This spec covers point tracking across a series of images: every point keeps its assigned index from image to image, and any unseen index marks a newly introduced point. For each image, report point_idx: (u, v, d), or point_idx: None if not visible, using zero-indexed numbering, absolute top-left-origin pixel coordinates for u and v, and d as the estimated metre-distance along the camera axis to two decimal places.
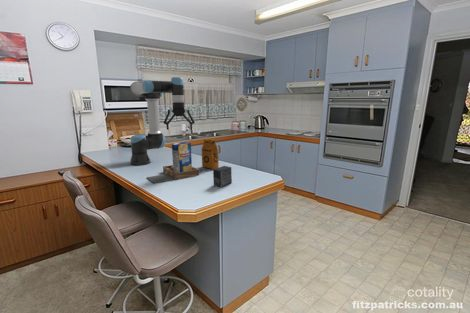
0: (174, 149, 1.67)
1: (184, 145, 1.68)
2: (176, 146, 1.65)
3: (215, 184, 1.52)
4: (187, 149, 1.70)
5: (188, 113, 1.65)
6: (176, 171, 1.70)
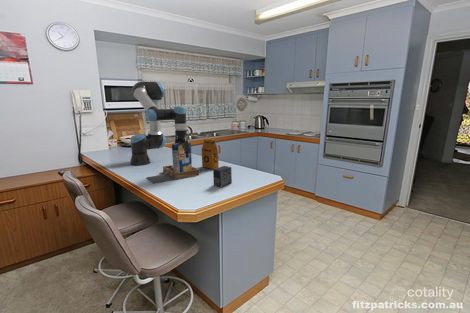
0: (174, 149, 1.67)
1: None
2: (176, 146, 1.65)
3: (215, 184, 1.52)
4: None
5: (184, 141, 1.64)
6: (176, 171, 1.70)
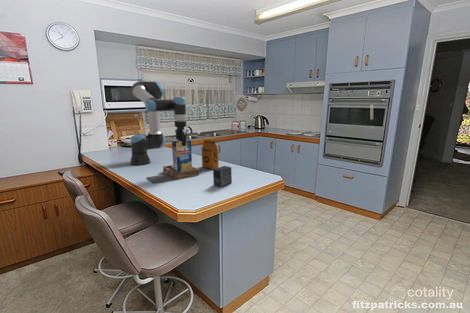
0: (173, 146, 1.68)
1: None
2: (174, 143, 1.66)
3: (215, 184, 1.52)
4: (186, 146, 1.69)
5: (182, 135, 1.64)
6: (175, 167, 1.71)
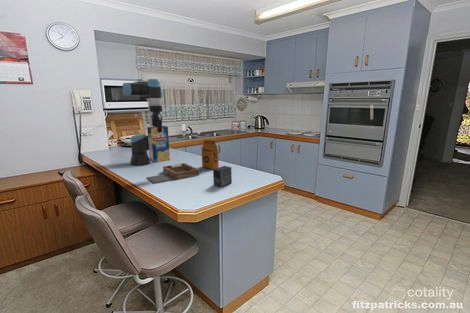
0: (148, 132, 1.56)
1: None
2: (149, 129, 1.54)
3: (215, 184, 1.52)
4: (162, 133, 1.57)
5: (157, 120, 1.52)
6: (151, 156, 1.58)
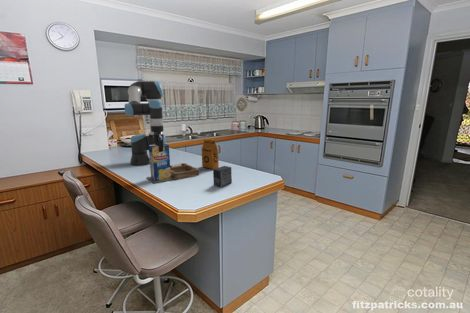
0: (150, 151, 1.59)
1: None
2: (151, 148, 1.56)
3: (215, 184, 1.52)
4: (164, 151, 1.60)
5: (159, 140, 1.55)
6: (152, 174, 1.61)
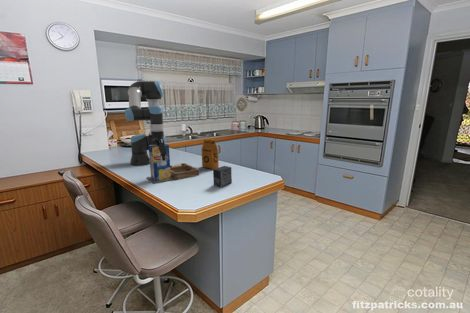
0: (150, 151, 1.59)
1: None
2: (151, 148, 1.56)
3: (215, 184, 1.52)
4: None
5: (160, 143, 1.54)
6: (152, 174, 1.61)
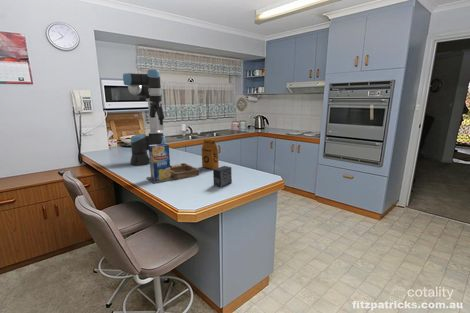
0: (150, 151, 1.59)
1: (160, 147, 1.58)
2: (151, 148, 1.56)
3: (215, 184, 1.52)
4: (164, 151, 1.60)
5: (157, 107, 1.55)
6: (152, 174, 1.61)
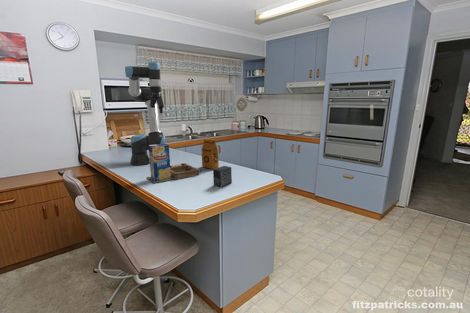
0: (150, 151, 1.59)
1: (160, 147, 1.58)
2: (151, 148, 1.56)
3: (215, 184, 1.52)
4: (164, 151, 1.60)
5: (157, 97, 1.68)
6: (152, 174, 1.61)
